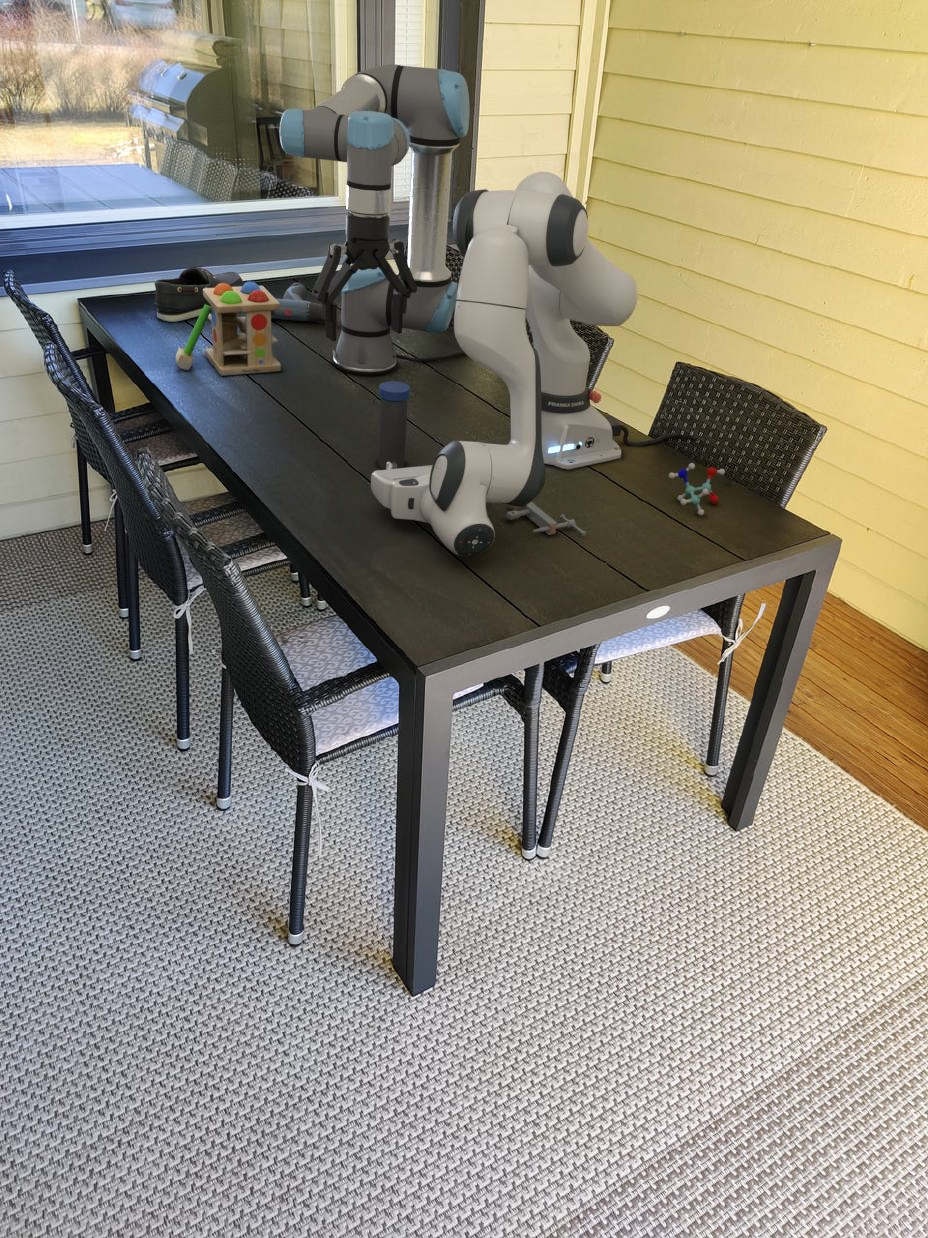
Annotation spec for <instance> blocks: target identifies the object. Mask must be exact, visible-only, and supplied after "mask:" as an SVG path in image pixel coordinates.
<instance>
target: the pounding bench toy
mask: <svg viewBox="0 0 928 1238" xmlns="http://www.w3.org/2000/svg"><path fill="white" fill-rule="evenodd" d="M203 296H204V297H205V299H206V300H207V301H208V302H209V304H210V305H211V307H210V306H208V305H204V307H203V309H202V311H201V314H200V316H198V318H197V320H196V322H195V324H194V327H193V329H192V331H191V332H190V333H191V334H190V336H189V338H188V340H187V343H186V344H185V347H184V348H182V347H180V346H179V347H178V349H177V351H176V354H175V357H174V358H175V362H176V365H177V366H178V368H179V369H182V370H185V371H189V370H190V369H191V367H192V365H193V363H194V356H193V351H194V348H195V347H196V345H197V342H198V340H199V337H200V336H201V333H202V332H203V329H204V326H205V325H206V322H207V320H209V321H210V322H211V336H212V337H211V338H212V339H211V340H212V348H205V349H204V352H205V353H204V355H205V357H206V359H208V361H209V363H210V364H211V365H212V366H213V367H214V369H215V370H216V371H217V372H218V374H219V375H220V376H222V377H223V376H234V375H235V376H236V375H246V374H247V375H250V374H262V373H275V372H281V370H282V364H281V363H280V362H279V360H278V359H277V358H276V357H275V356H274V355H273V348H272V347H273V345H272V344H276V343H278V342H279V341H278V339H277V338H276V337H275V336H274V334H272V318H271V310H280V303H279V302H278V301H277V300H276V299H277V298H276V297H274V296H273V295H272V294H271V293H270V292H269V290H268V289H267V288H266V287H264V285H259V284H257V283H256V282H255V281H247V282H245V283H243V286H242V287H231V286H230V285H228V284H226V283H221V284H218V285H217V286H216V287H215V288H204V289H203ZM238 313H244V314H245V315H244V316H238ZM238 329H239V331H240V333H239V334H238Z"/></svg>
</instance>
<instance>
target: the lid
mask: <svg viewBox="0 0 928 1238" xmlns="http://www.w3.org/2000/svg"><path fill="white" fill-rule="evenodd" d="M378 392H379V393H378V395H379V397H380V399H381V398H383V399H385V400H389V401H404V400H407V399H408V400H409V398H410V397H411V386H410V385H409V384H407V383H405V382H402V381H397V380H389V381H384V382H382V383H380V384H379V390H378Z"/></svg>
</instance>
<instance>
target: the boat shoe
mask: <svg viewBox="0 0 928 1238" xmlns="http://www.w3.org/2000/svg"><path fill="white" fill-rule="evenodd" d="M221 283H226V284H228V285H230V286H231V287H242V286H243V285H244V280H243V278H242V277H241V275H240V274H239V273H238V272H235V271H227V272H221V273H216V274H213V273H211V271H209V270H208V269H206V268H203V267H197V266H195V265H193V266H190V267H187V268H186V269H184V270H183V271H182V272H181V273H180V274H179V276H178V277H176V278H175V277H174V278H161V279H156V280H154V287H155V298H154V299H155V302H154V303H153V305H154V306H155V307H156V308H157V309H156V317H157V319H159V320H161V321H164V322H171V323H172V322H181V321H185V320H189V319H192V318H196V317H199V316H200V314H201V311H202V309H203V307H204V305H208V306H210V307H211V305H210V304H209V302H208V301H207V300H206V299H205V297H204V296H203V289H204V288H215V287H216V286H217V285H218V284H221Z"/></svg>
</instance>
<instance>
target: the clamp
mask: <svg viewBox="0 0 928 1238" xmlns="http://www.w3.org/2000/svg"><path fill="white" fill-rule="evenodd" d="M509 509H510V511H507V512H506V518H507V519H508V520H510V521H513V520H517V519H519V518H521V517H524V516H525V517H527V518H528V519H529V520H530V521H531V522H532V523H534V524H535V525H536V526H537V527H539V528H536V529H533V530H532V533H533V534H536V533H542V532H545V533H546V534H547V535H548V536H549V535H550V536H551V535H556V533H557V529H562V528H565V527H566V528H573V529H575V530H576V531H577V532H579V533H580V534H581V536H582V537H586V535H587V531H586V530H583V529H581V528H580V527H579V526H577V524H576V520H575V519H573V518H572V519H569V518H567V517H566V516H565V514H563V513H562V514H561V515H560V516H559V519H560V520H563V521H564V522H560V523H558V522H557V521H556V520H555V519H553V518H552V517H551V516H550V515H549V514H548V513H546V512H545V511H543V509H541V508H540V507H538V506H537V505H536V504H535V503H534V502H532V501H531V502H530V503H529V504H527V505H526V506H523V507H519V506H512V505H509Z"/></svg>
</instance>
